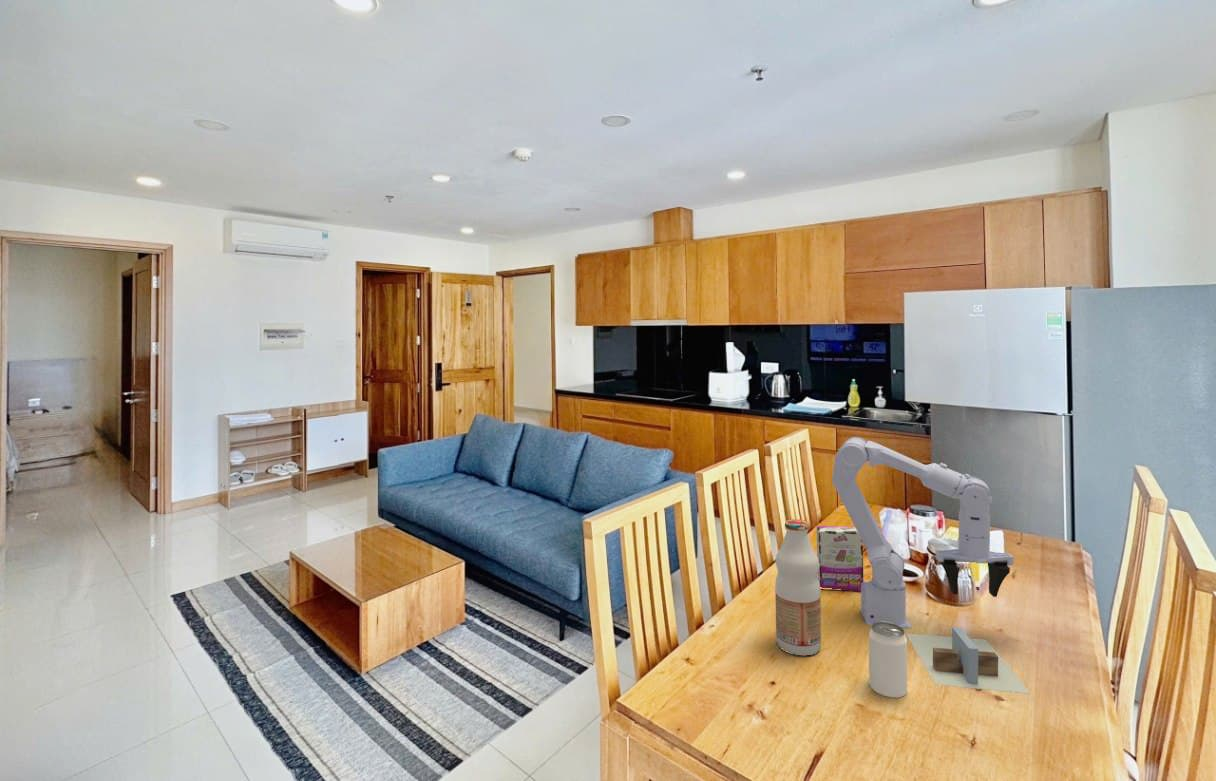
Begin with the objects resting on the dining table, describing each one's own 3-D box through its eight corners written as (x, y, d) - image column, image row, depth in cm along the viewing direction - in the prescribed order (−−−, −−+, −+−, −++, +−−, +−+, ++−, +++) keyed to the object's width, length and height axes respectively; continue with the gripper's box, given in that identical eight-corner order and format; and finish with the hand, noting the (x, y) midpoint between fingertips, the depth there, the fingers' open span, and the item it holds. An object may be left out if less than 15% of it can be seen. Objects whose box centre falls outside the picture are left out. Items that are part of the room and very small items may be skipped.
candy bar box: (859, 584, 149) (859, 526, 148) (864, 592, 144) (863, 532, 143) (816, 582, 152) (816, 524, 151) (819, 590, 147) (818, 530, 146)
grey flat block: (968, 683, 104) (969, 648, 104) (951, 659, 112) (952, 627, 112) (977, 684, 104) (978, 649, 104) (960, 660, 112) (960, 627, 111)
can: (905, 703, 100) (906, 641, 99) (867, 693, 103) (867, 632, 102) (908, 684, 105) (908, 625, 104) (871, 675, 109) (871, 617, 108)
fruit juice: (777, 655, 117) (775, 528, 115) (775, 632, 126) (773, 514, 124) (824, 659, 115) (822, 530, 113) (818, 636, 124) (816, 516, 122)
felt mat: (935, 685, 105) (935, 684, 105) (905, 634, 123) (905, 633, 123) (1031, 695, 101) (1031, 693, 101) (985, 641, 119) (985, 639, 119)
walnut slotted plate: (935, 671, 109) (935, 651, 108) (932, 666, 110) (932, 647, 110) (998, 676, 106) (998, 657, 106) (994, 671, 108) (994, 652, 107)
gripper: (943, 538, 117) (943, 599, 118) (1021, 541, 114) (1019, 604, 115) (932, 528, 124) (932, 585, 125) (1005, 530, 121) (1004, 589, 122)
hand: (973, 593), depth 120 cm, fingers open, 7 cm apart
